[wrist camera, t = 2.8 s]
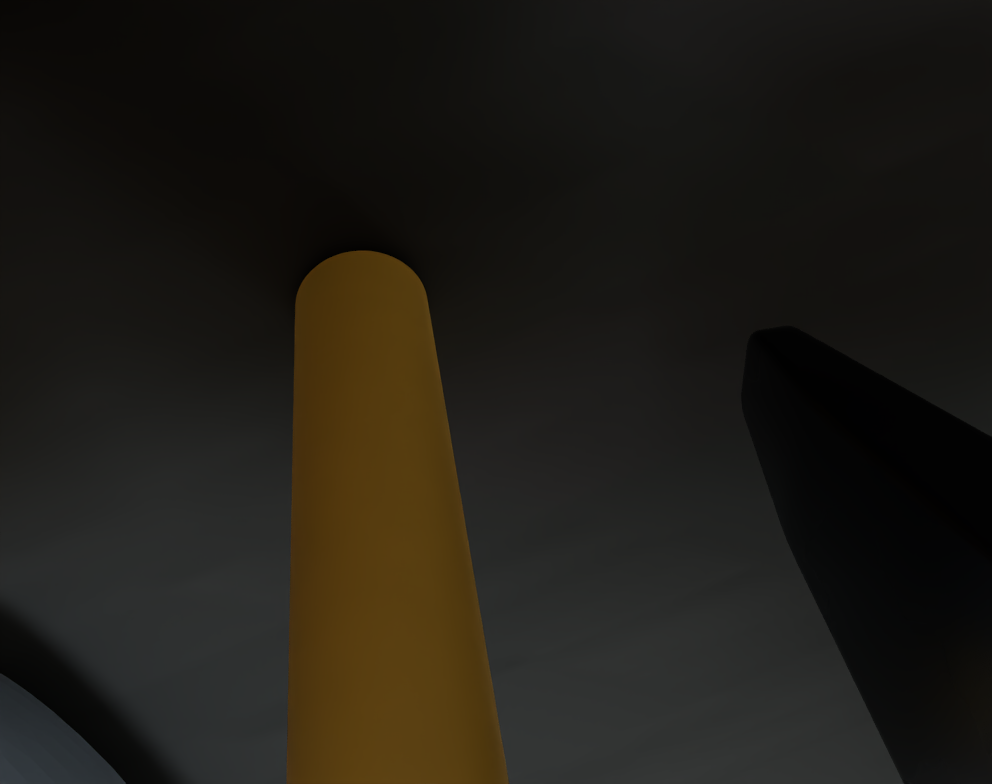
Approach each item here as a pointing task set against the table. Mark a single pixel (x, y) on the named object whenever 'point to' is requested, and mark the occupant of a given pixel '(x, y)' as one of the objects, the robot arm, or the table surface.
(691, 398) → the table surface
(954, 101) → the table surface
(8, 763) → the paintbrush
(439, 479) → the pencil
